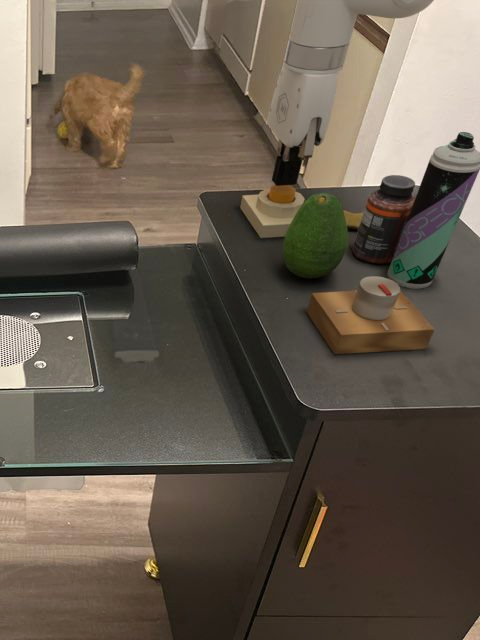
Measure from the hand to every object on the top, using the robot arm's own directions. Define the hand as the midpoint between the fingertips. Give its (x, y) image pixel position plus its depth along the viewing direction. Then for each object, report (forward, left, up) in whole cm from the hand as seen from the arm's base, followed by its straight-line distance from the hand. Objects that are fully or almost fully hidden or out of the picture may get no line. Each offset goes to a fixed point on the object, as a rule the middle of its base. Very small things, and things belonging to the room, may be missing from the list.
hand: (283, 182), depth 109 cm
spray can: (-12, +18, -7) cm, 23 cm away
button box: (0, 0, -6) cm, 6 cm away
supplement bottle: (-10, +12, -7) cm, 17 cm away
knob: (-1, +29, -3) cm, 29 cm away
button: (0, 0, -3) cm, 3 cm away
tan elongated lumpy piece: (-12, +4, -7) cm, 14 cm away
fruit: (+1, +16, -7) cm, 17 cm away
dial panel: (-1, +29, -6) cm, 30 cm away
